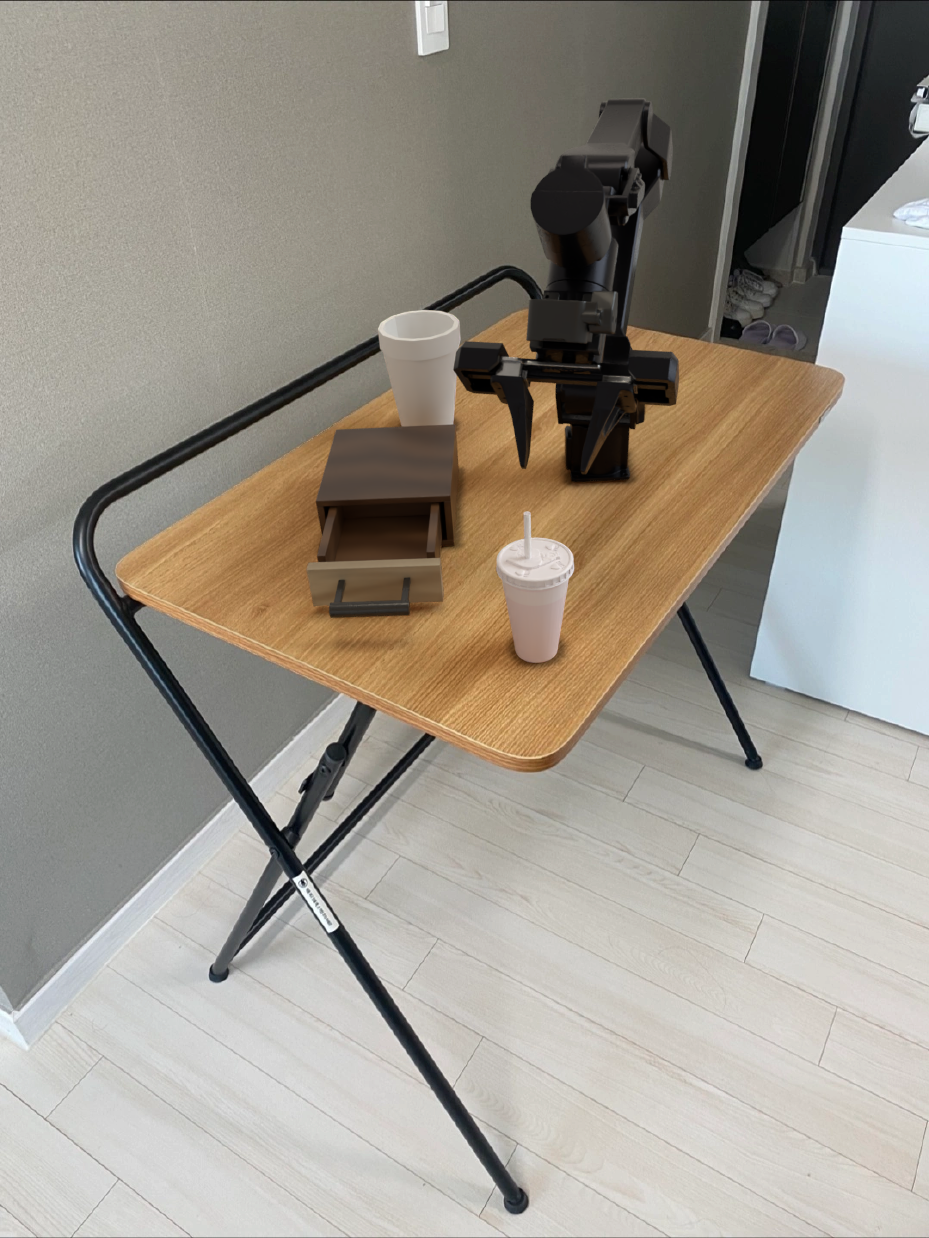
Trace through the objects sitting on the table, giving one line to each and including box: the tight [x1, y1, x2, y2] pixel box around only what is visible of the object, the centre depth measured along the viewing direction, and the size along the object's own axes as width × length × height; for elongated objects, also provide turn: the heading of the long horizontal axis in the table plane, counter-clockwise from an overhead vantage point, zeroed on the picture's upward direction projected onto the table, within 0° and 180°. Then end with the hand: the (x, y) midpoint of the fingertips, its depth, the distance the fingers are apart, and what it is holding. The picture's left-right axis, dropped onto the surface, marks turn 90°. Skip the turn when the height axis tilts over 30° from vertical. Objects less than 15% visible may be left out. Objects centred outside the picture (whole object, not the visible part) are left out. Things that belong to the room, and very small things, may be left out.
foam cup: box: [377, 309, 462, 427], centre depth 115 cm, size 10×9×13 cm
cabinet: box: [315, 423, 460, 547], centre depth 102 cm, size 15×13×6 cm
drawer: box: [306, 502, 445, 619], centre depth 92 cm, size 19×12×4 cm, turn 178°
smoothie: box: [495, 511, 575, 664], centre depth 80 cm, size 6×6×14 cm
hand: (552, 470), depth 82 cm, fingers open, 5 cm apart
